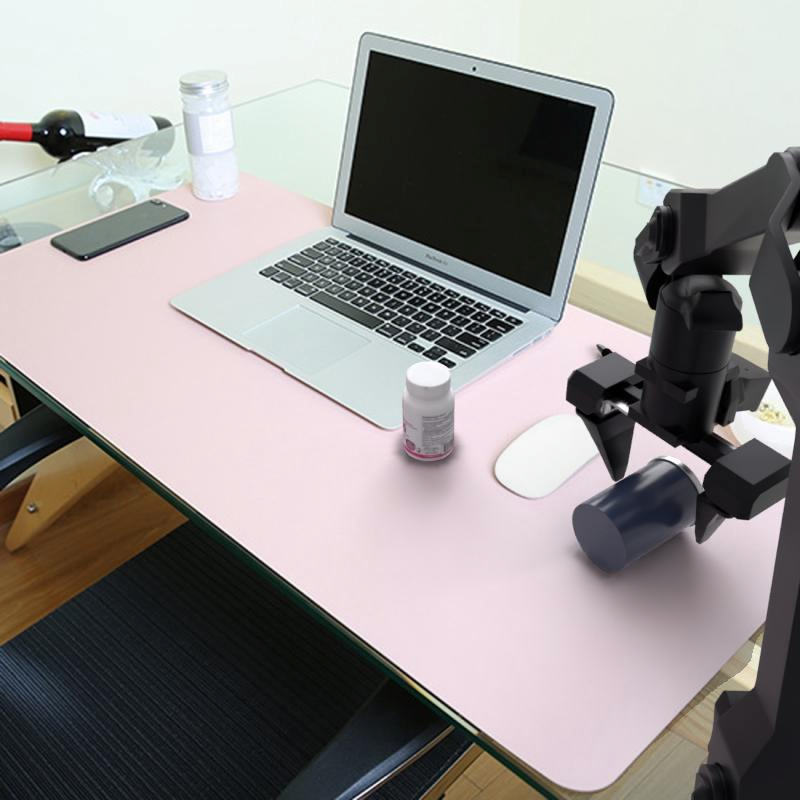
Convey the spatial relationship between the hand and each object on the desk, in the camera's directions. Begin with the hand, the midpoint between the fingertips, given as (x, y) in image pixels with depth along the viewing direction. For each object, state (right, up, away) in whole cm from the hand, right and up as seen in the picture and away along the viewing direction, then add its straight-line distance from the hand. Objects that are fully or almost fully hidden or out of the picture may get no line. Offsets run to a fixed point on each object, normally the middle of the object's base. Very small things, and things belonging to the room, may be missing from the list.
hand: (658, 508), depth 79 cm
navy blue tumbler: (-6, -2, -4) cm, 7 cm away
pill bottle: (-19, +5, +11) cm, 22 cm away
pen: (+3, +11, +18) cm, 21 cm away
